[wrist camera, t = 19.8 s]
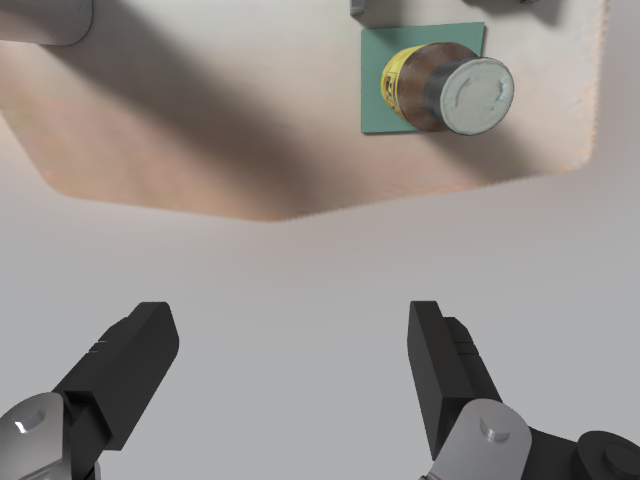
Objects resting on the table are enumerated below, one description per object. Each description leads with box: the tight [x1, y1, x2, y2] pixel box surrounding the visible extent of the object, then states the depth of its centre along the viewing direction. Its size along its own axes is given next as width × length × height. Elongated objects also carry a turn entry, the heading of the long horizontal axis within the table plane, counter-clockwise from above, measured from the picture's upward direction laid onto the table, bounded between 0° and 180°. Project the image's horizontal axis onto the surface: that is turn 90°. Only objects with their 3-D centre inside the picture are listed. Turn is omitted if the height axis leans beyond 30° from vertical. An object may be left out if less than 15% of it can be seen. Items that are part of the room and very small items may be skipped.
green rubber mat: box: [361, 22, 485, 133], centre depth 36 cm, size 12×10×1 cm
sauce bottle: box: [380, 42, 514, 136], centre depth 27 cm, size 6×6×20 cm
